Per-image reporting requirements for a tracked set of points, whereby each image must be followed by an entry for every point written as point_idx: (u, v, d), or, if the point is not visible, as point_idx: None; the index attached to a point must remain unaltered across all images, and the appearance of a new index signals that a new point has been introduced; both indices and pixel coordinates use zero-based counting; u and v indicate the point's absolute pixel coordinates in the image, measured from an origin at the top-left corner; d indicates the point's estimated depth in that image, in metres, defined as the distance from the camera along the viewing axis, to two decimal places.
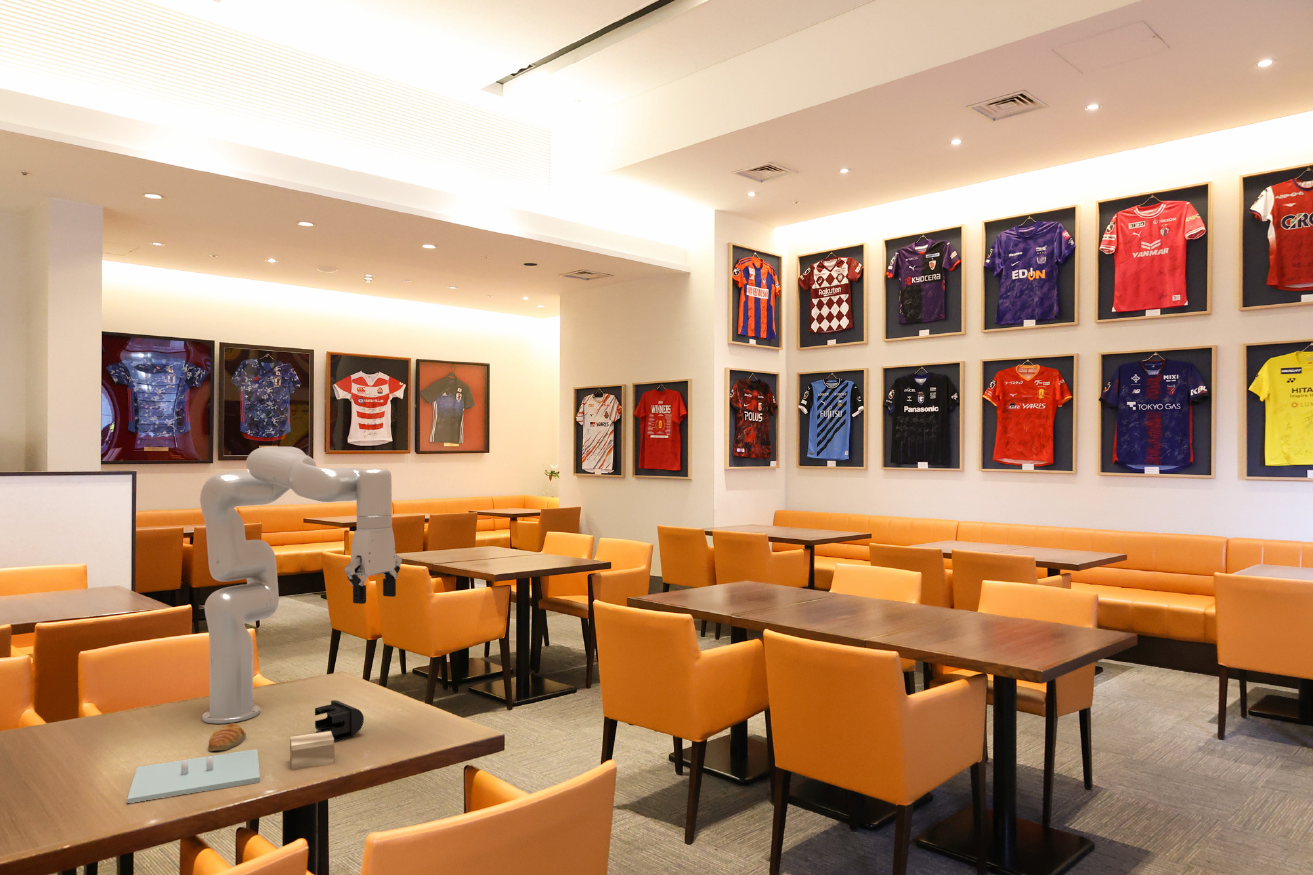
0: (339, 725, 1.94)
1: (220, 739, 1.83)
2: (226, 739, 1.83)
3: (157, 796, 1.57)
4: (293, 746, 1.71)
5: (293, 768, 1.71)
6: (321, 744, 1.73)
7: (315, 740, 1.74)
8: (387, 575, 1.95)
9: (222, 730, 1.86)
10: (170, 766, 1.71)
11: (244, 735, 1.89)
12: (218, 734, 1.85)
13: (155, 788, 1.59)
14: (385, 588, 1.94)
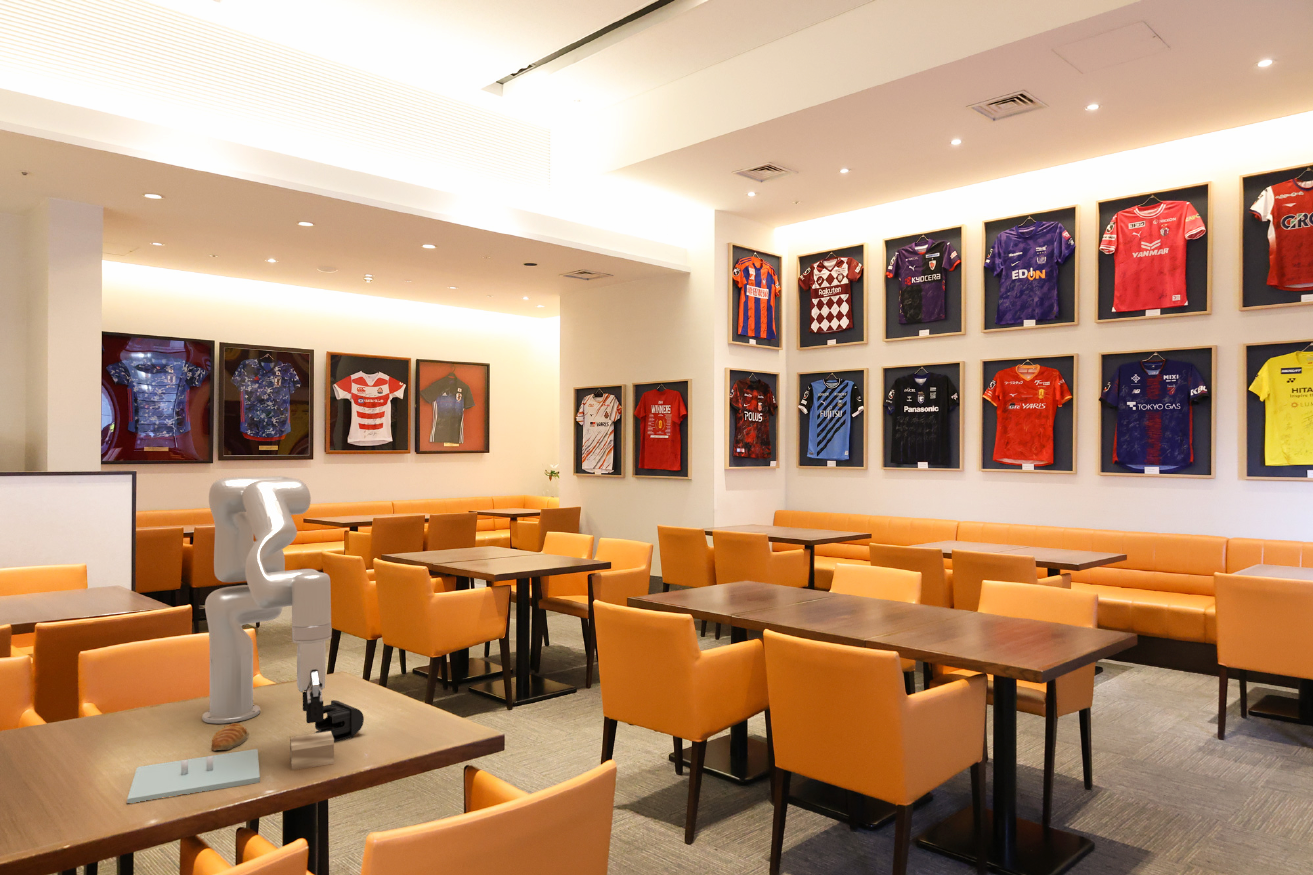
0: (339, 725, 1.94)
1: (223, 738, 1.83)
2: (229, 739, 1.84)
3: (157, 796, 1.57)
4: (293, 746, 1.71)
5: (293, 768, 1.71)
6: (321, 744, 1.73)
7: (315, 740, 1.74)
8: None
9: (225, 730, 1.87)
10: (170, 766, 1.71)
11: (247, 734, 1.90)
12: (221, 734, 1.85)
13: (155, 788, 1.59)
14: (307, 702, 1.79)
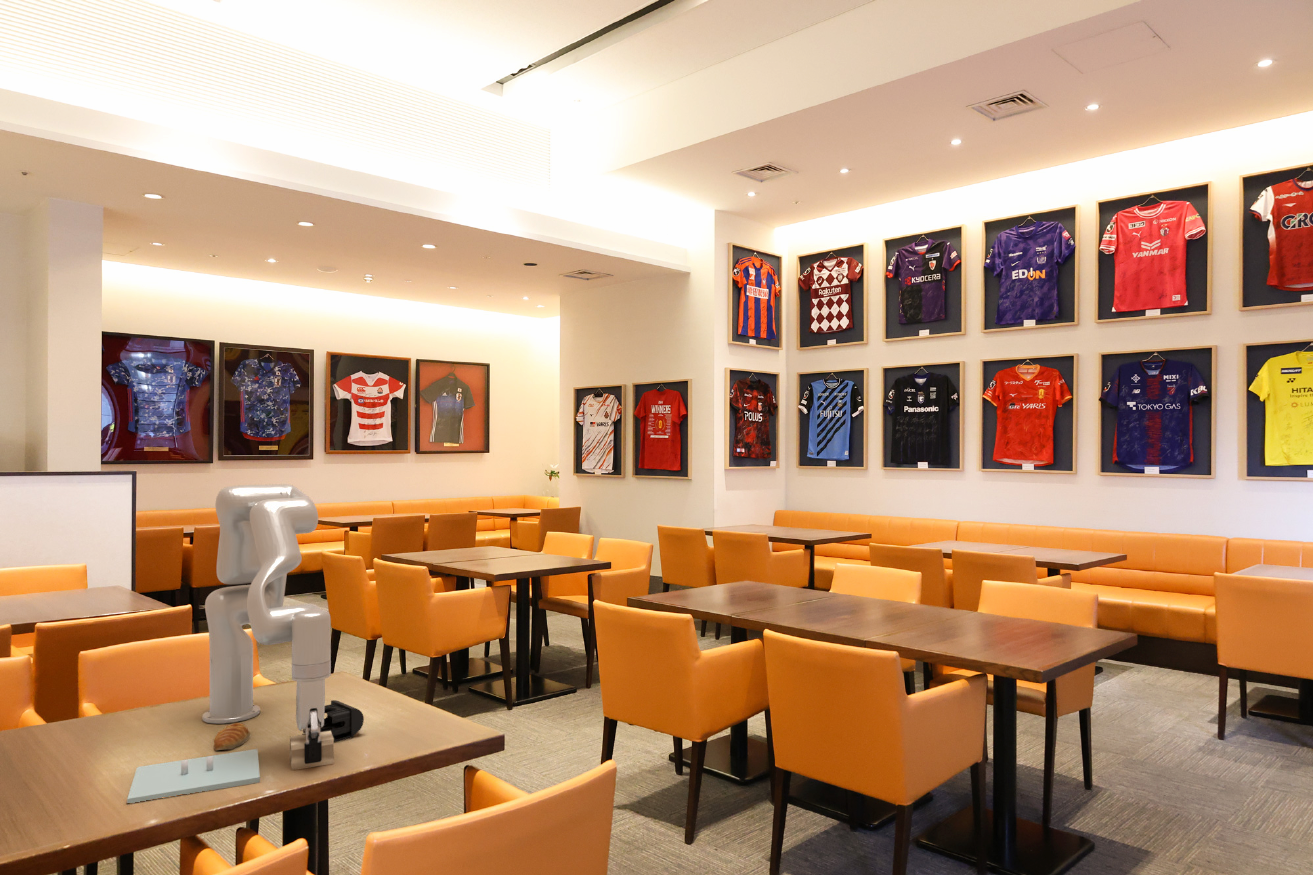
0: (339, 725, 1.94)
1: (226, 738, 1.83)
2: (232, 738, 1.84)
3: (157, 796, 1.57)
4: (293, 746, 1.71)
5: (293, 768, 1.71)
6: None
7: None
8: None
9: (227, 729, 1.87)
10: (170, 766, 1.71)
11: (248, 734, 1.90)
12: (223, 733, 1.85)
13: (155, 788, 1.59)
14: None
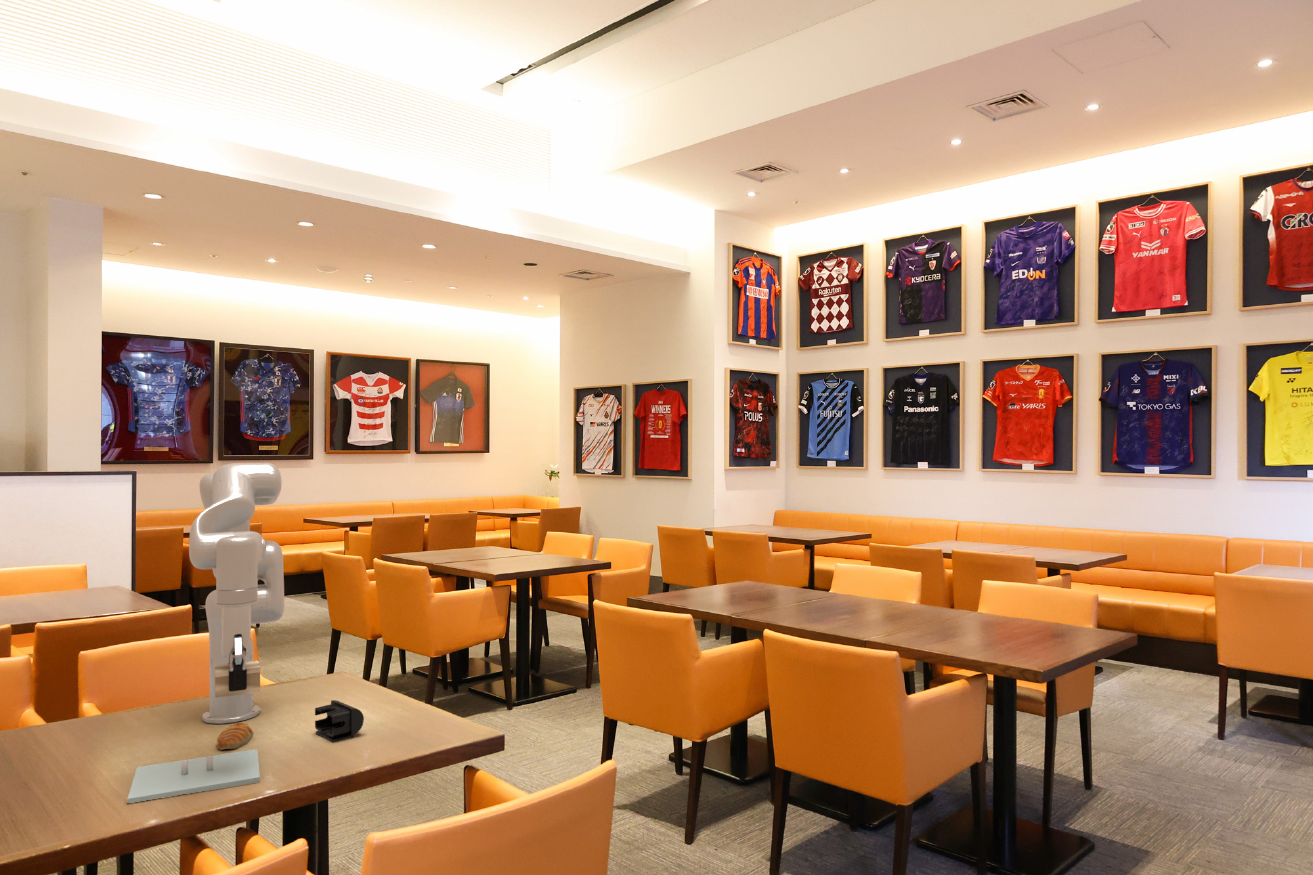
0: (339, 725, 1.94)
1: (230, 738, 1.84)
2: (236, 738, 1.84)
3: (157, 796, 1.57)
4: (217, 673, 1.66)
5: (217, 695, 1.66)
6: (247, 672, 1.69)
7: None
8: (233, 658, 1.74)
9: (230, 729, 1.87)
10: (170, 766, 1.71)
11: (252, 733, 1.90)
12: (227, 733, 1.86)
13: (155, 788, 1.59)
14: None
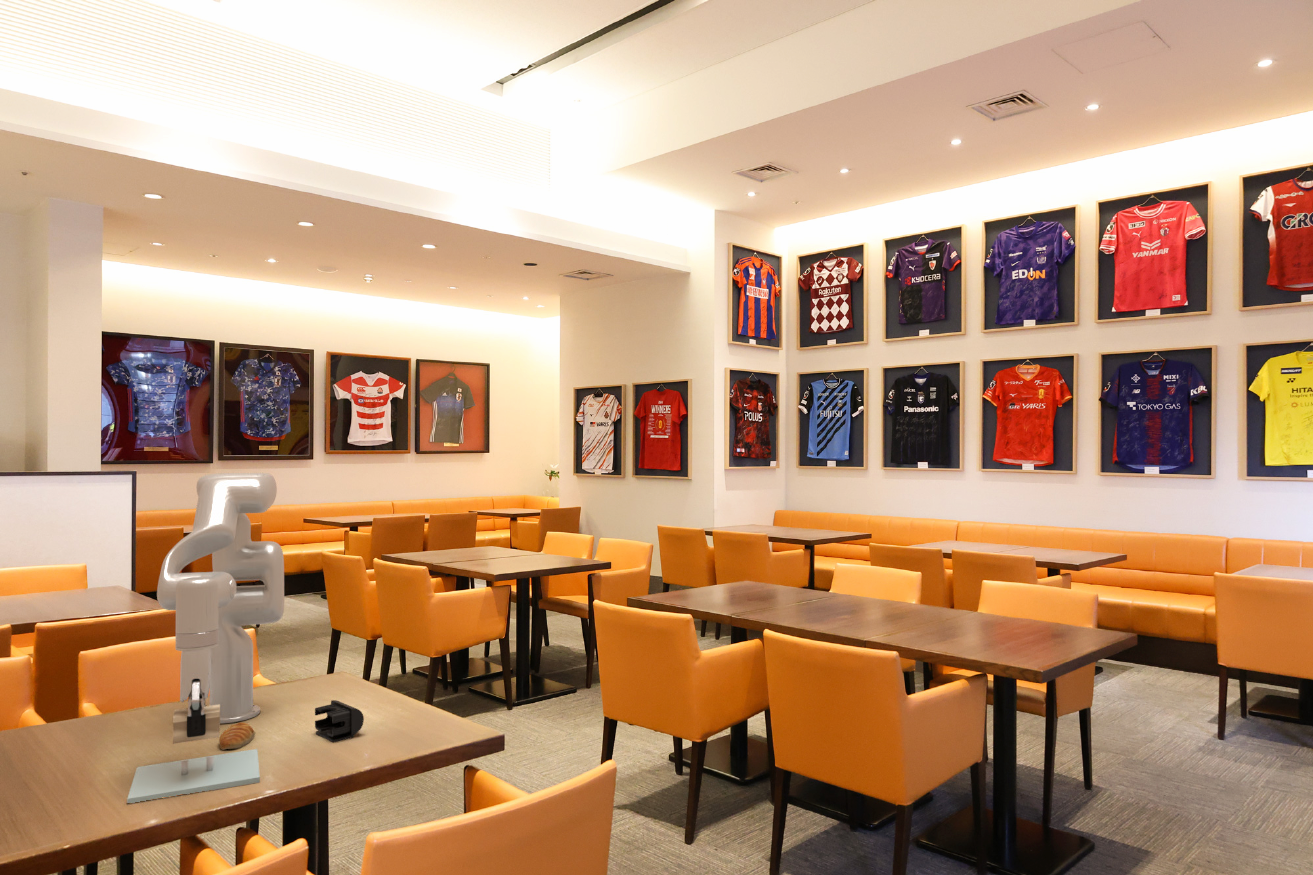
0: (339, 725, 1.94)
1: (232, 737, 1.84)
2: (238, 737, 1.84)
3: (157, 796, 1.57)
4: (174, 718, 1.63)
5: (174, 741, 1.63)
6: (206, 716, 1.66)
7: None
8: None
9: (232, 729, 1.87)
10: (170, 766, 1.71)
11: (253, 733, 1.90)
12: (229, 733, 1.86)
13: (155, 788, 1.59)
14: None
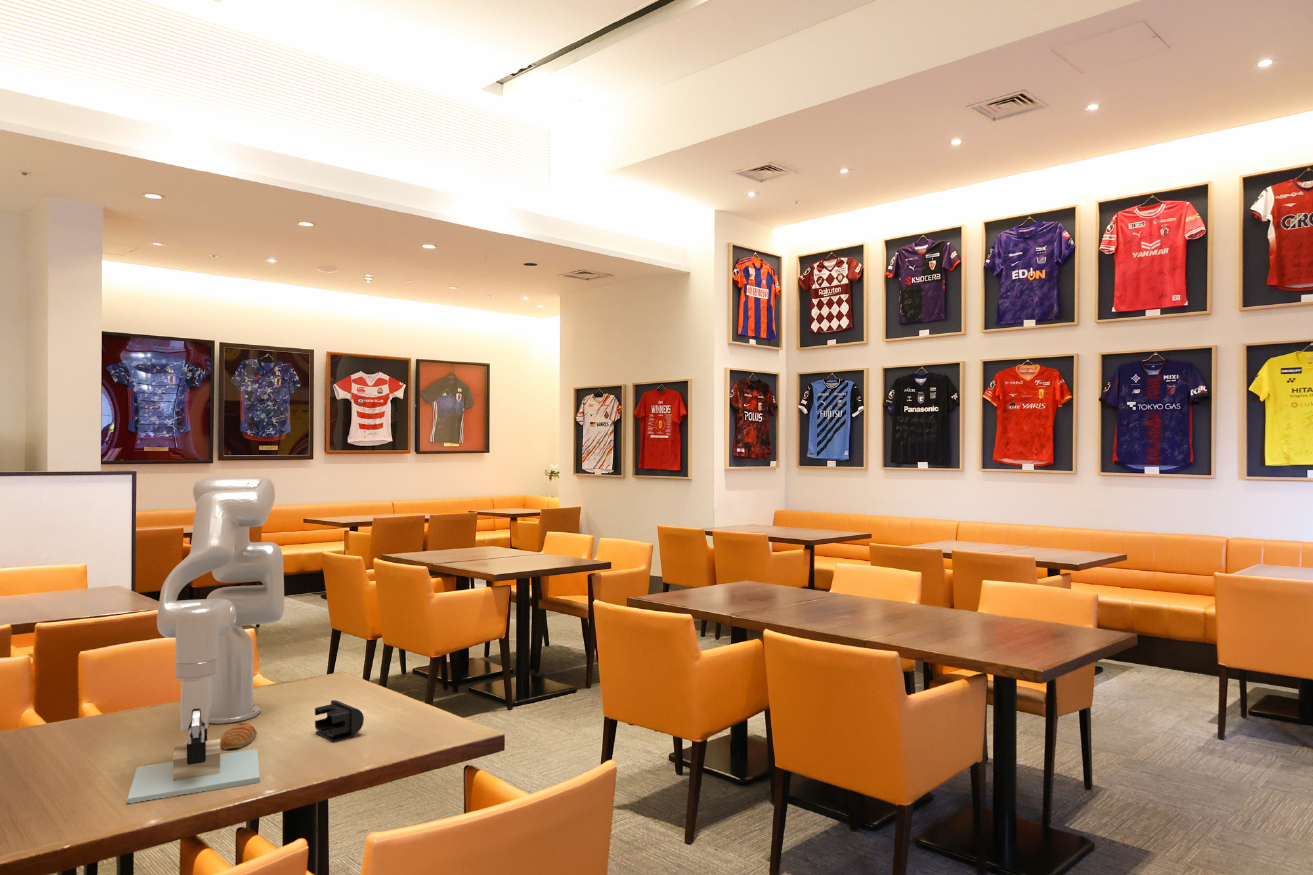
0: (339, 725, 1.94)
1: (234, 737, 1.84)
2: (240, 737, 1.85)
3: (157, 796, 1.57)
4: (175, 755, 1.64)
5: (175, 778, 1.63)
6: (206, 753, 1.66)
7: None
8: None
9: (234, 728, 1.87)
10: (170, 766, 1.71)
11: (255, 733, 1.91)
12: (231, 732, 1.86)
13: (155, 788, 1.59)
14: None
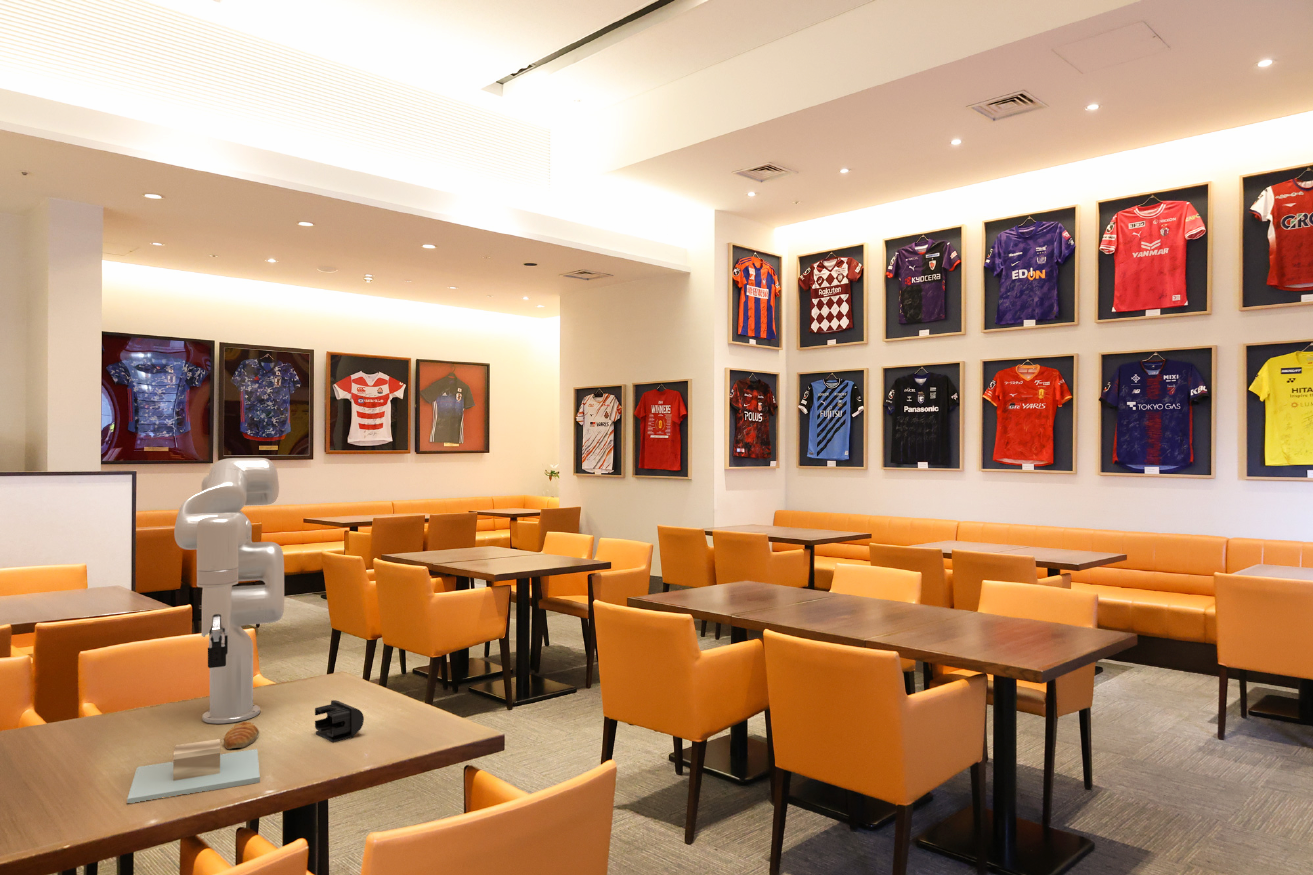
0: (339, 725, 1.94)
1: (238, 737, 1.84)
2: (243, 737, 1.85)
3: (157, 796, 1.57)
4: (175, 755, 1.64)
5: (175, 778, 1.63)
6: (206, 753, 1.66)
7: (199, 749, 1.66)
8: None
9: (237, 728, 1.88)
10: (170, 766, 1.71)
11: (258, 732, 1.91)
12: (234, 732, 1.86)
13: (155, 788, 1.59)
14: None
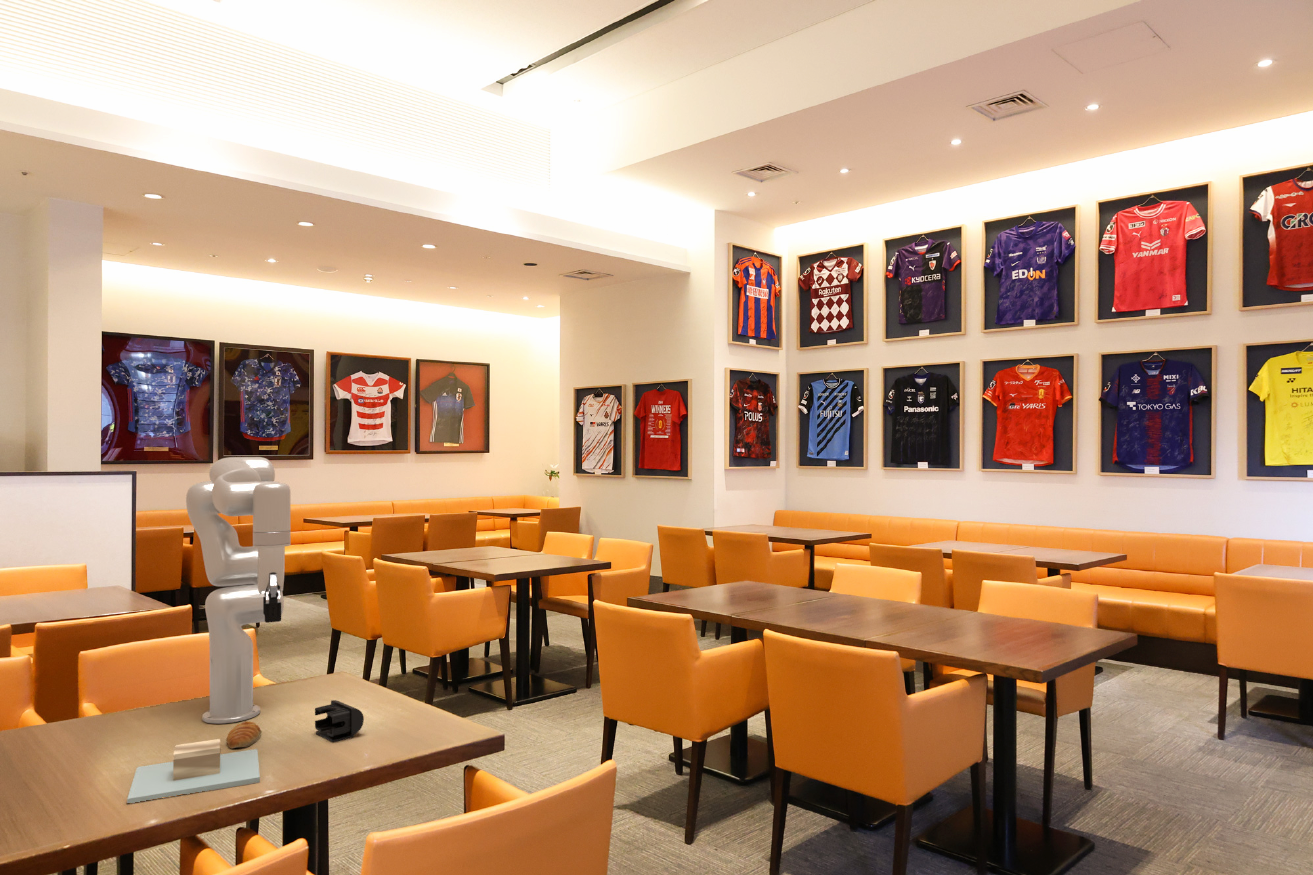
0: (339, 725, 1.94)
1: (241, 736, 1.85)
2: (246, 736, 1.85)
3: (157, 796, 1.57)
4: (175, 755, 1.64)
5: (175, 778, 1.63)
6: (206, 753, 1.66)
7: (199, 749, 1.66)
8: None
9: (240, 728, 1.88)
10: (170, 766, 1.71)
11: (260, 732, 1.91)
12: (237, 732, 1.86)
13: (155, 788, 1.59)
14: None
